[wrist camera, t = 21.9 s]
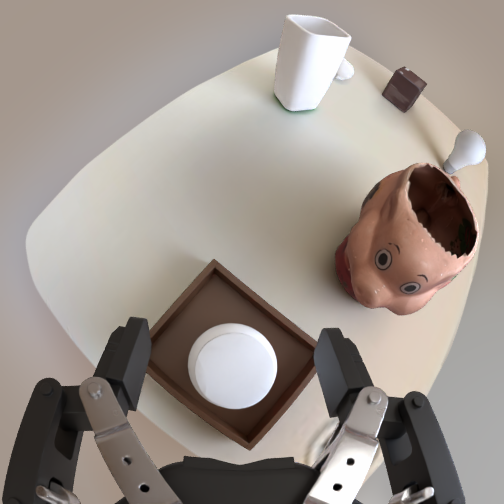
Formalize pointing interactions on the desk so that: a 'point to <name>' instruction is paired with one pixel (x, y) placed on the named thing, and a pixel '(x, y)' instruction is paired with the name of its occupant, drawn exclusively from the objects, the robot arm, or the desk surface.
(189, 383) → the tray
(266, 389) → the pill bottle
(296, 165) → the desk surface
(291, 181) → the desk surface
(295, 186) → the desk surface
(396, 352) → the desk surface
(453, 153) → the lightbulb
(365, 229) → the pink face mug
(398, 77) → the box
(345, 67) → the white lumpy curved piece
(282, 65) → the cup
